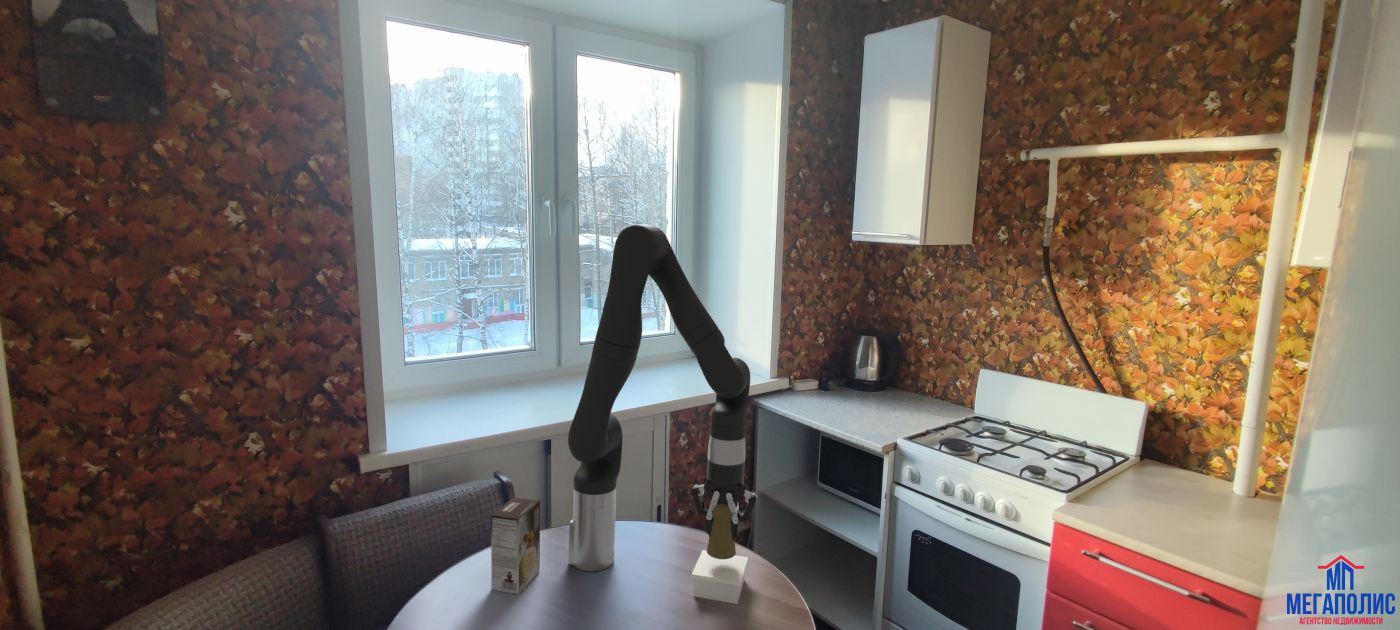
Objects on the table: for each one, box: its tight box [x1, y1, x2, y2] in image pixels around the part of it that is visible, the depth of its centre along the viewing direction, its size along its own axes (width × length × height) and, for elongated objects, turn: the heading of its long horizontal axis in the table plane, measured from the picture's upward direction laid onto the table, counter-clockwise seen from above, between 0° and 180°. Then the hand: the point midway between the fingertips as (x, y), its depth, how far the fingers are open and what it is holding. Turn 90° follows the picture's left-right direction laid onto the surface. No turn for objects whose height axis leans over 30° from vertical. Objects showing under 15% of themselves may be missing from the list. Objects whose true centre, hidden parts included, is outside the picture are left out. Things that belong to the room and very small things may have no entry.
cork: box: [706, 503, 737, 559], centre depth 125 cm, size 6×6×11 cm
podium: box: [691, 549, 749, 605], centre depth 127 cm, size 10×10×5 cm
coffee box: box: [490, 497, 541, 595], centre depth 125 cm, size 9×6×16 cm
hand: (722, 536), depth 126 cm, fingers closed on cork, 4 cm apart
